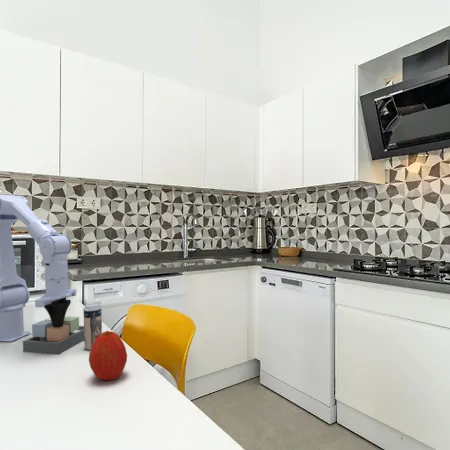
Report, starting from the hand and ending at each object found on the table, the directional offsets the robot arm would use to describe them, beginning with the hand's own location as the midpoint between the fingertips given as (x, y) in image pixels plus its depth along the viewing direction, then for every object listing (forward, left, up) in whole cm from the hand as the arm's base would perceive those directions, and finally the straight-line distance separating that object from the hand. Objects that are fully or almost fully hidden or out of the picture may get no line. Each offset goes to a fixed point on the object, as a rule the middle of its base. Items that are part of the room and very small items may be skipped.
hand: (57, 326), depth 98 cm
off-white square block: (-5, +5, -2) cm, 7 cm away
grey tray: (-2, +3, -6) cm, 7 cm away
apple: (+24, -14, -6) cm, 28 cm away
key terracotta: (0, 0, -3) cm, 3 cm away
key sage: (0, +5, -2) cm, 5 cm away
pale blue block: (-5, 0, -2) cm, 5 cm away
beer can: (+10, +2, -6) cm, 12 cm away
